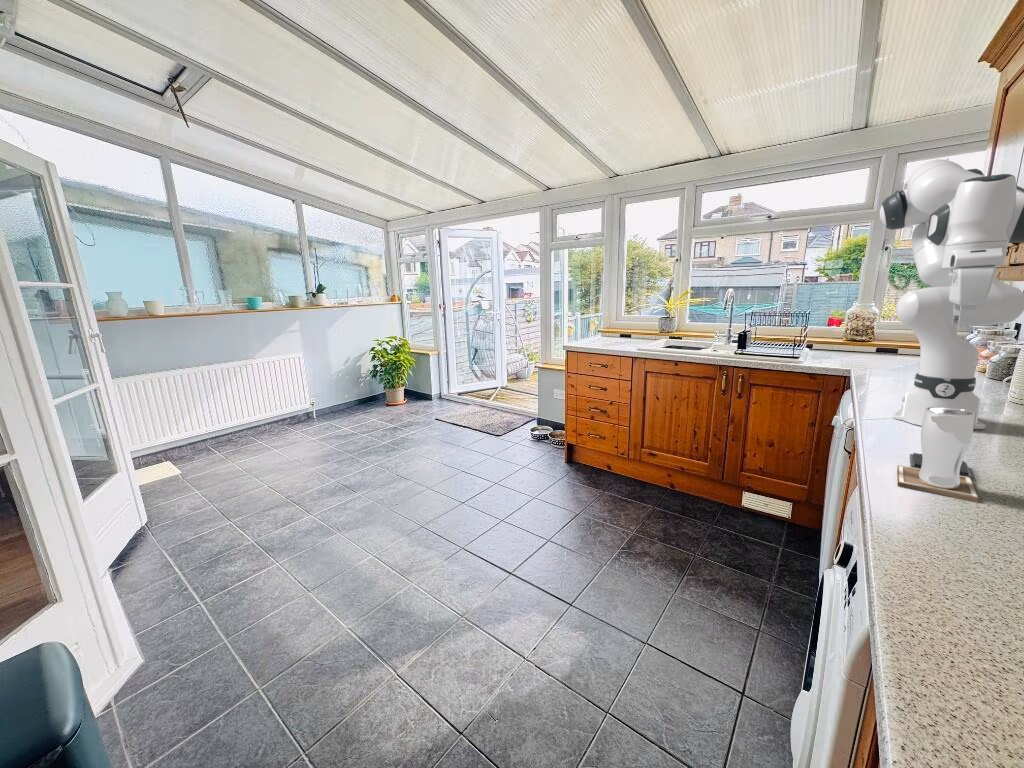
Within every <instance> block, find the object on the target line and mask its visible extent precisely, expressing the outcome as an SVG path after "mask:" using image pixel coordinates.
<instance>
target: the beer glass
mask: <svg viewBox="0 0 1024 768" xmlns="http://www.w3.org/2000/svg"><path fill="white" fill-rule="evenodd" d="M920 427H921V428H920V429H921V430H920V445H921V446H920V449H921V454H922V466H921V469H920V471H919V474H918V476H917V480H918V481H920V482H921V483H924V484H926V485H929V486H933V487H937V488H943V489H958V488H960V468H961V464H962V462H963V461H965V460H964V459H965V458H966V456H967V453H968V451H969V449H970V446H971V442H972V440H973V436H974V435H973V434H974V430H975V429H974V413H973V412H971V411H967V410H963V409H957V408H949V407H928V408H926V411H925V415H924V418H923V422H922V426H920Z"/></svg>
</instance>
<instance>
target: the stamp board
mask: <svg viewBox="0 0 1024 768" xmlns="http://www.w3.org/2000/svg"><path fill="white" fill-rule="evenodd" d="M896 469H897V471H896V475H897V480H896V481H897V487H898V486H900V487H899V488H903V487H904V489H908V488H910V489H909V490H914V491H919V490H920V491H919V492H924V491H925V492H924V493H929V492H930V494H933V495H939V496H944V497H948V498H954V499H959V498H960V499H959V500H964V499H966V500H965V501H969V500H970V501H969V502H974V503H979V499H980V498H979V495H978V492H977V490H976V487H975V486H974V483H973V480H972V479H971V478H970V477H966V476H960V488H958V489H943V488H937V487H933V486H929V485H926V484H924V483H921V482H920V481H918V480H917V476H918V474H919V471H920V468H914V467H910V466H907V465H902V464H898V465H897V467H896Z"/></svg>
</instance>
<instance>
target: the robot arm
mask: <svg viewBox="0 0 1024 768" xmlns="http://www.w3.org/2000/svg"><path fill="white" fill-rule="evenodd" d="M879 219H880V221H881V223H882V224H883V225H884V226H885V228H887V229H889V230H891V231H892V230H901V229H904V228H905V227H906V228H907V227H909V226H910V227H911V226H915V225H917V226H915V228H914V229H913V231H912V234H911V249H912V255H913V260H914V262H915V265H916V267H915V268H916V270H917V274H918V277H919V279H920V280H921V281H922V282H923V283H924V284H926V285H928V287H925V288H918V289H914V290H909V291H907V292H905V293H904V294H903V295H901V297H900V299H898V301H897V303H896V306H895V314H896V317H897V318H898V320H899V321H900V322H901V323H902V324H904V325H905V326H907V327H908V328H909V329H911V331H913V333H914V334H915V336H916V338H917V340H918V342H919V348H920V349H919V350H920V352H919V354H920V355H919V366H918V371H917V373H916V374H915V375H914V376H915V377H914V379H913V380H914V381H913V388H912V389H910V390H908V391H907V392H906V393H905V394H904V395H903V396H902V399H901V401H902V403H903V404H902V405H901V408H900V409H899V410H897V411H896V412H895V413H894V414H893V416H892V418H893V419H895V420H899V421H903V422H906V423H909V424H911V425H912V424H913V425H916V426H920V427H922V422H923V418H924V415H925V411H926V408H928V407H949V408H957V409H963V410H967V411H971V412H973V413H974V429H973V430H986V427H987V426H986V424H984V423H982V422H981V421H979V420H978V419H979V414H980V413H979V412H980V406H981V405H980V404H981V399H980V398H979V397H978V396H977V395H975V393H974V392H973V391H975V387H976V385H977V382H976V381H977V378H976V377H975V374H976V369H977V363H978V358H979V350H978V349H977V346H975V345H974V344H972V343H970V342H969V341H966V340H965V339H961V338H960V337H959V335H958V331H957V329H958V327H960V328H970V327H990V326H994V325H995V326H996V325H1001V324H1007V323H1008V324H1009V323H1011V322H1013V321H1016V319H1018V318H1019V317H1020V316H1021V315H1022V314H1023V313H1024V292H1023V290H1021V289H1020V288H1019V287H1016V286H1013V285H1010V284H1007V283H1004V282H1002V281H1000V280H998V279H996V278H995V276H996V273H997V267H998V266H1004V265H1005V263H1006V262H1005V261H1006V258H1007V252H1008V247H1009V244H1012V243H1013V244H1014V243H1015V244H1017V243H1018V244H1019V243H1022V244H1023V243H1024V187H1021V186H1019V185H1017V178H1016V176H1015V175H1014V174H1013V175H1012V174H1011V173H1002V174H992V175H985V174H984V172H983V171H982V170H980V169H978V168H971V169H965V168H964V167H963V166H962V165H960V164H958V163H957V162H954V161H952V160H947V159H941V158H939V159H932V160H929V161H927V162H925V163H922V164H921V165H920V166H918V167H917V168H916V169H914V170H913V172H912V173H911V175H910V176H909V178H908V181H907V184H906V189H901V190H900V191H899V190H898V189H897V190H896V191H895V192H894V193H893V194H890V196H887V197H886V198H885V199H884V200H883V201H882V203H881V207H880V209H879ZM929 286H930V287H929Z"/></svg>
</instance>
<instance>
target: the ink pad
mask: <svg viewBox="0 0 1024 768" xmlns="http://www.w3.org/2000/svg"><path fill="white" fill-rule="evenodd" d="M921 466H922V453H916V452H912V453H910V454H909V467H914V468H920V469H921ZM960 476H966V477H970V478H971V480H972V479H973V475H972V473H971V471H970V468H969V466H968V463H967V462H966V461H965V460H963V462H962V464H961V468H960Z"/></svg>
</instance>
